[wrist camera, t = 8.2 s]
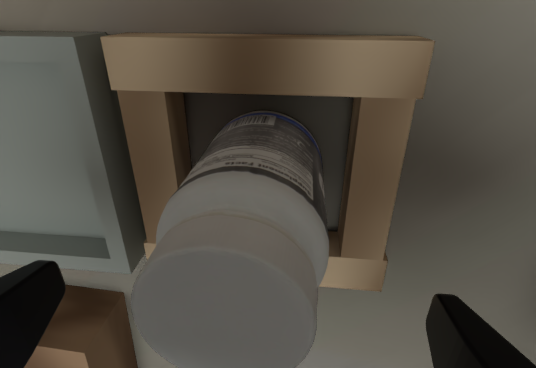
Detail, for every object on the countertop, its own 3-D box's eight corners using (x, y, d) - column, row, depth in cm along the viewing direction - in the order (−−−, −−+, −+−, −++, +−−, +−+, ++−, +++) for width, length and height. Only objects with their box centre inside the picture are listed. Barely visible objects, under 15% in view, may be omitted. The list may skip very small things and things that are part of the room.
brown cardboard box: (125, 289, 19) (84, 352, 16) (141, 375, 23) (111, 441, 20) (26, 276, 20) (-36, 335, 16) (57, 362, 24) (13, 425, 20)
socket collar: (418, 36, 12) (435, 41, 10) (374, 263, 16) (381, 291, 15) (126, 32, 13) (100, 36, 11) (164, 247, 17) (149, 272, 16)
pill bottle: (296, 223, 16) (284, 418, 8) (199, 188, 15) (98, 357, 8) (342, 133, 14) (380, 289, 6) (229, 89, 13) (126, 198, 6)
